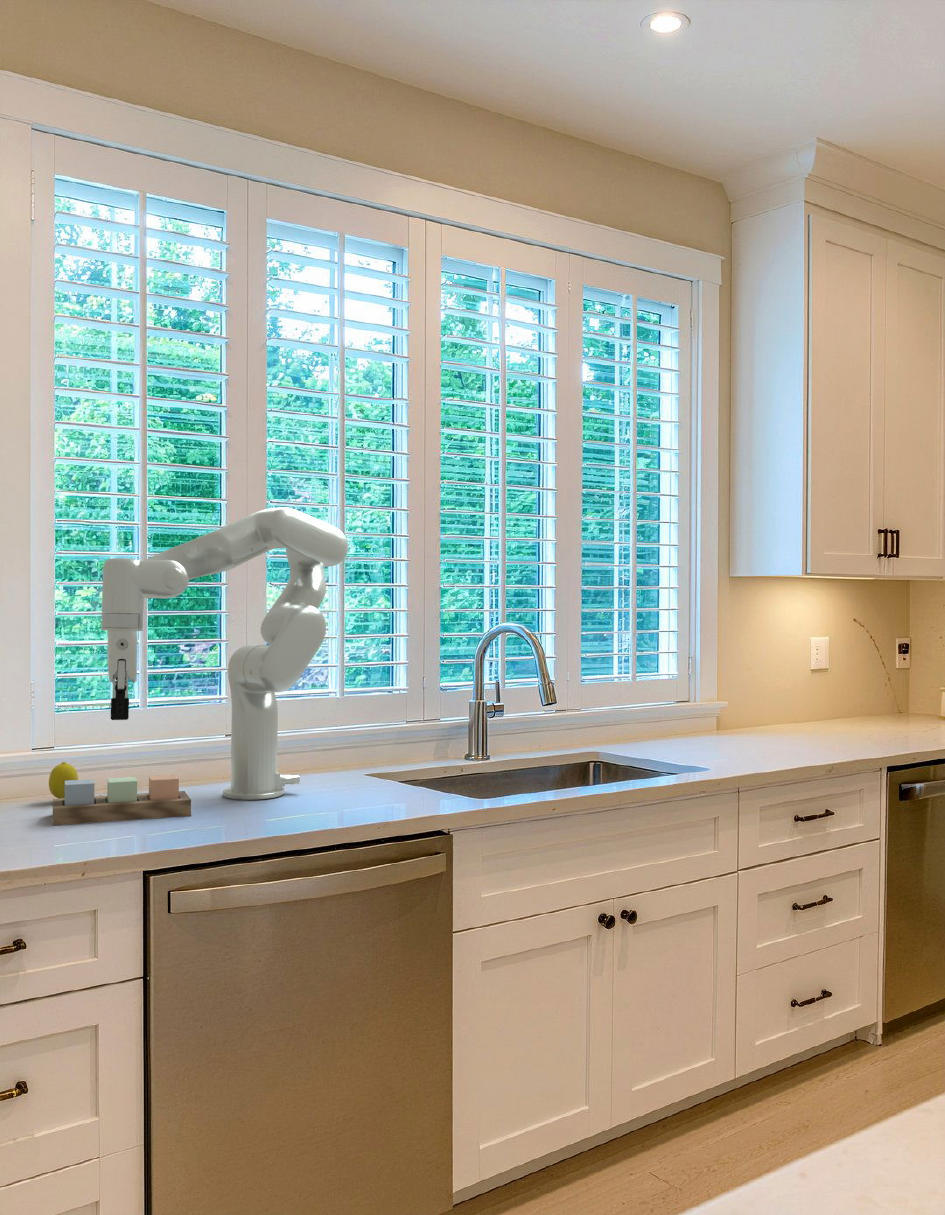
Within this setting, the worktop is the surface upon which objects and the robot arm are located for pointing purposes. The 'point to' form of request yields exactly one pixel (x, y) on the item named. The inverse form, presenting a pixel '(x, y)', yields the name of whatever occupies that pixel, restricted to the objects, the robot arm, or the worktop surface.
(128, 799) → the button sage
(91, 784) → the button slate
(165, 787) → the button terracotta
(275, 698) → the robot arm
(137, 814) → the button board
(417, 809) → the worktop surface
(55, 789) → the lemon
